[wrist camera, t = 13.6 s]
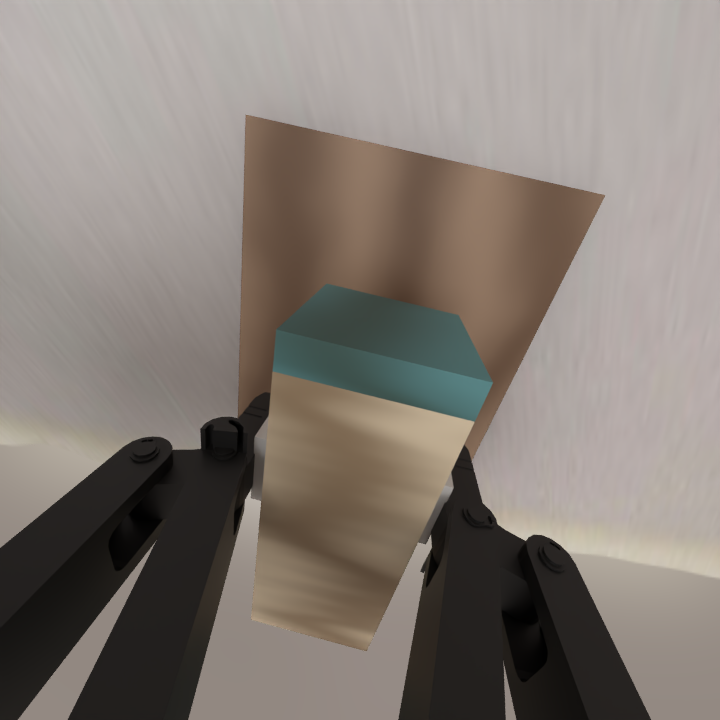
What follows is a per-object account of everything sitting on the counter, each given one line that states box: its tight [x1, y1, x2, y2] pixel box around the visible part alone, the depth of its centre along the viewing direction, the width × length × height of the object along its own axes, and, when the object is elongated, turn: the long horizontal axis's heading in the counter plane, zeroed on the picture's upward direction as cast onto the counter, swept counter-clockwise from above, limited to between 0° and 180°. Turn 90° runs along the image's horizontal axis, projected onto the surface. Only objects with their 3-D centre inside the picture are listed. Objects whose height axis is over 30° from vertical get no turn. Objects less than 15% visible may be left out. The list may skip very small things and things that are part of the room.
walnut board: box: [238, 115, 605, 461], centre depth 20 cm, size 18×20×1 cm
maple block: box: [251, 284, 493, 651], centre depth 11 cm, size 4×4×12 cm
